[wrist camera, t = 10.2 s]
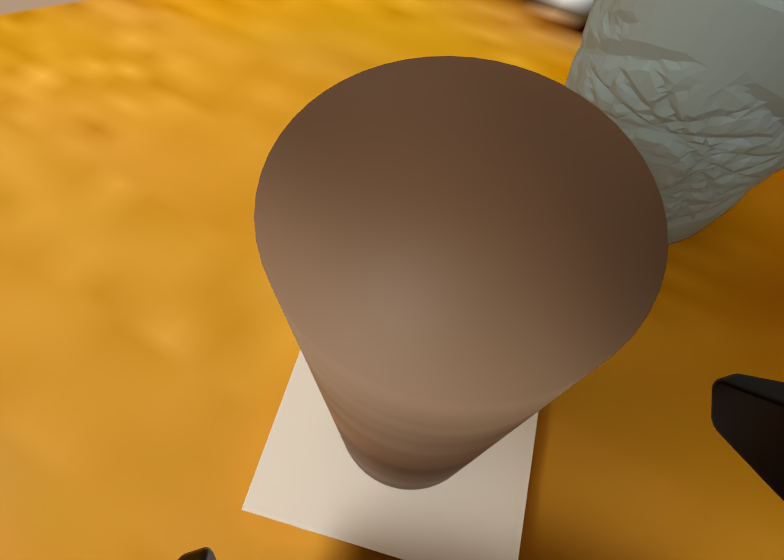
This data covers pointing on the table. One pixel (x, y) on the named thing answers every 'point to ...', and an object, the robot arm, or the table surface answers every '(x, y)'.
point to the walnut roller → (454, 254)
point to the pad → (388, 489)
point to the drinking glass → (690, 95)
